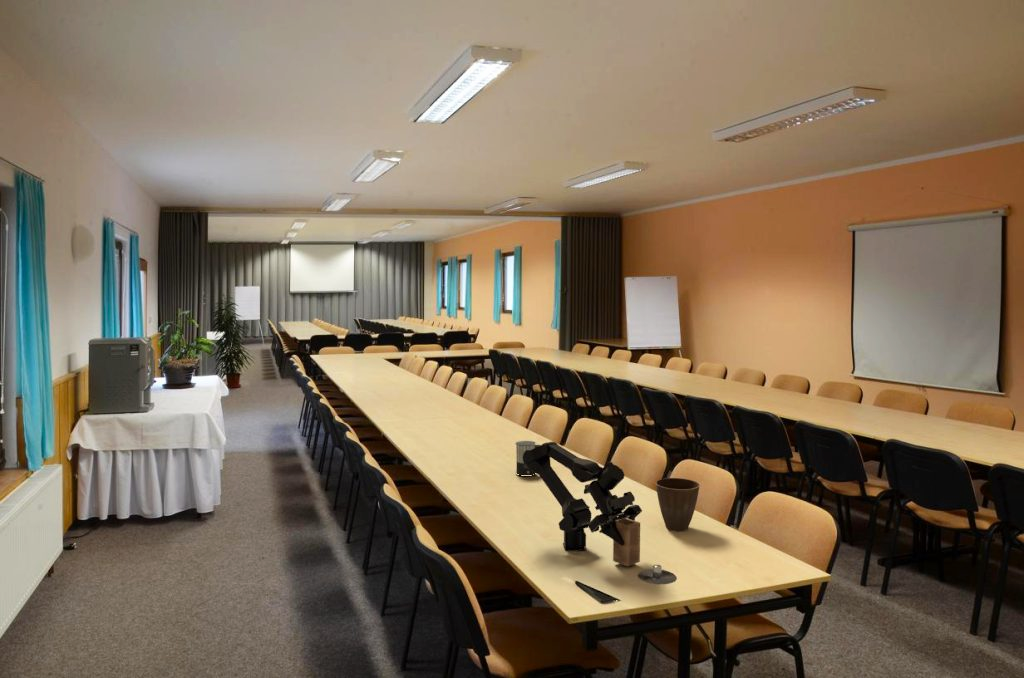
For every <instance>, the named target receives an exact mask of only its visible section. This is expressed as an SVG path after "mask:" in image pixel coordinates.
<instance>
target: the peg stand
mask: <svg viewBox="0 0 1024 678" xmlns="http://www.w3.org/2000/svg"><path fill="white" fill-rule="evenodd" d="M637 578H638V579H639V580H641V581H642V582H645V583H648V584H653V585H669V584H672V583H675V582H676V581H677V576H676V575H675V574H674V573H672V572H671V571H668V570H664V569H662V565H660V564H653V565H652V568H647V569H643V570H640V571H639V572H638V573H637Z"/></svg>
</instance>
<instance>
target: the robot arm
mask: <svg viewBox="0 0 1024 678" xmlns="http://www.w3.org/2000/svg"><path fill="white" fill-rule="evenodd" d="M539 445H540V446H539V447H536V448H534V449H530V450H526V451H525V452H524V454H523V462H524V464H525V465H526V466H527V467H528V468H529V469H530V470H531V471H533V472H535V473H536V475H539V477H540V478H541V480H542V481H543V482H544V484H545V486H546V487H547V488H548V490H549V491H550V492H551V494H552V495H553V496H554V498H555V499H556V501H557V503H558V504H559V505H560V507H561V515H562V519H561V520H560V521H559V522H558V528H559V530H560V531H563V542H562V546H563V549H564V550H565V551H567V552H569V551H570V552H571V551H586V547H587V534H586V532H585V529H588V528H589V530H590V533H595V532H598V531H599V533H600V534H603V535H605V536H606V537H608V538H610V539H611V540H614V541H616V542H617V543H619V544H620V545H621V546H623V545H624V544H625V543H624V541H623V539H622V537H621V535H620V533H619V531H618V530H617V528H616V521H618V520H621V519H625V518H628V519H631V520H634V521H636V517H638V516H639V515H640V514H641V513H642V512H643V510H642V508H641V507H640V505H638V504H634V502H635V500H636V499H635V495H634V494H633V493H632V491H631V490H630V491H627V492H624V493H623V496H618V495H616V494H612V492H611V491H612V490H614V489H615V488H616V487H617V486H618V485H619V484H620V483H621V482H622V481H623V480H624V478H625V472H624V471H623V469H622V468H620V467H619V466H618V465H616V464H614V463H613V461H608V462H606V463H605V464H604V466H603V467H602V466H600V465H599V464H598V463H597V462H596V461H594V460H591V459H587V458H581V457H579V456H576V455H575V454H574V453H572V452H571V451H569V450H567V449H566V448H564V447H563V446H561V445H559V444H558V443H557V442H556V441H548V442H544V443H542V444H539ZM552 459H553V460H554V461H556V462H557V463H558V464H560V465H562V466H563V467H565V468H567V469H569V470H570V472H571V474H572V476H573V477H574V478H575V479H576V480H577V482H580V483H587V482H590V483H589V484H585V485H584V490H583V494H584V495H587V494H590V496H591V498H592V499H593V501H594V503H595V504H596V506H595V507H594V508H595V510H596V511H600V513H601V514H598V515H595V517H594V518H592V512H591V509H590V508H591V507H590V506H589V505H588V504H587V503H586V501H585V500H584V499H583V498H581V497H580V498H578V499H577V498H576V497H574V495H572V493H571V492H570V490H569V489H568V488H567V486H566V485H565V484H564V482H563V480H561V478H560V477H559V476H558V473H556V470H554V468H553V467H552V466H551V460H552Z"/></svg>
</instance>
